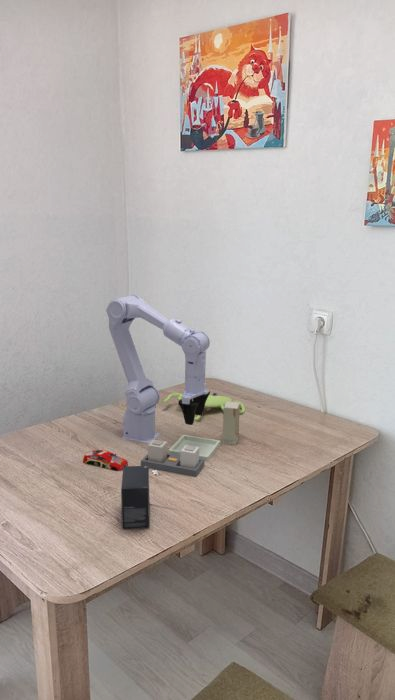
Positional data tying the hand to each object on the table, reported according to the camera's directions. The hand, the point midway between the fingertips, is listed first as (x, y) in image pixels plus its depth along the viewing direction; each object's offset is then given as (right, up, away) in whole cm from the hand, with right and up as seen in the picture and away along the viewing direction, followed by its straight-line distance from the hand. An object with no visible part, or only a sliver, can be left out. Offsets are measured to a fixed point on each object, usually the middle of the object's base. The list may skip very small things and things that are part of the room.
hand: (194, 419), depth 163 cm
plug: (-1, -12, -10) cm, 16 cm away
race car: (-24, -12, -8) cm, 28 cm away
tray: (0, -10, +2) cm, 10 cm away
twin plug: (-10, -11, -7) cm, 17 cm away
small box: (-13, -19, -32) cm, 40 cm away
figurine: (+3, -2, +34) cm, 34 cm away
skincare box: (+11, -8, +9) cm, 16 cm away
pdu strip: (-6, -12, -9) cm, 16 cm away
